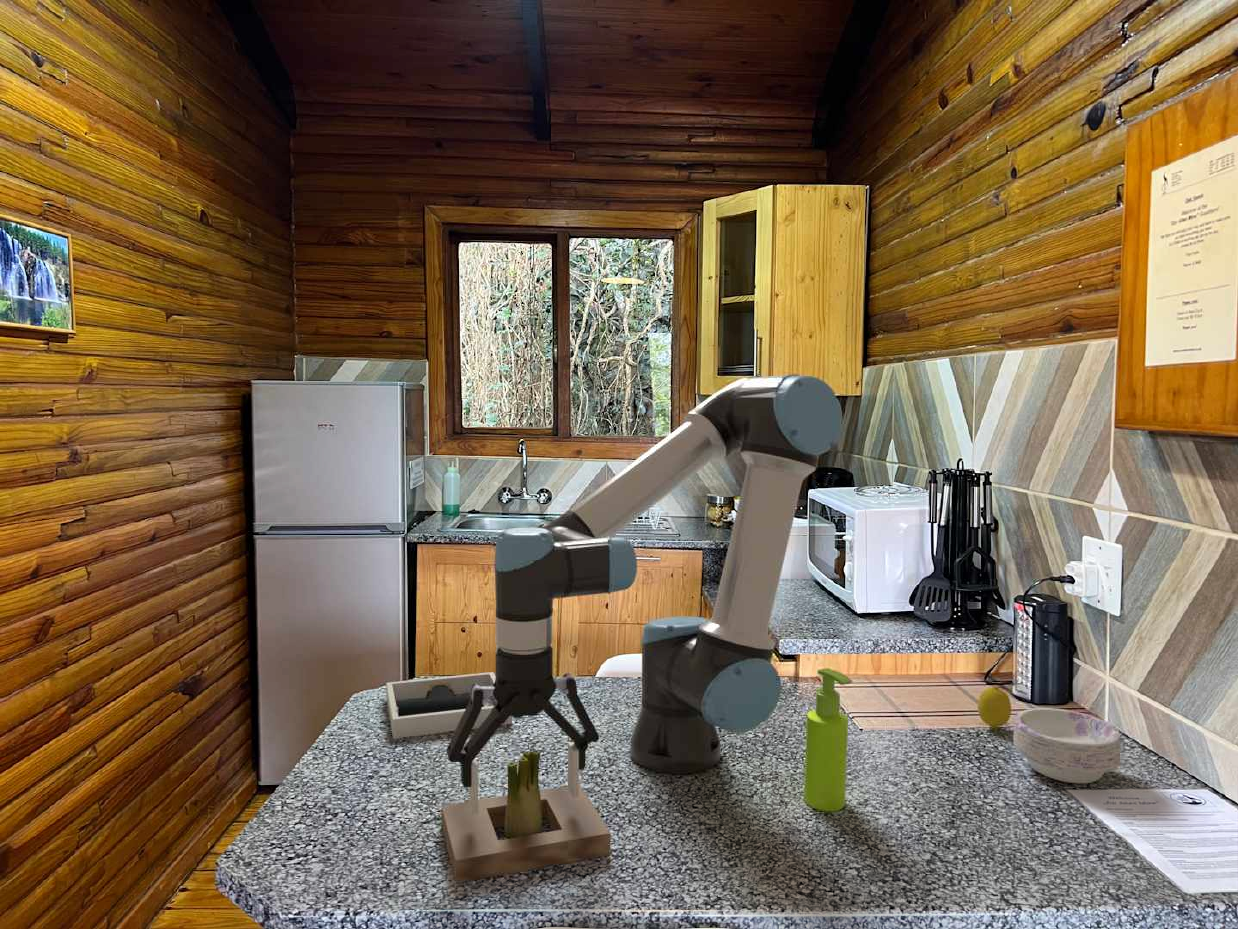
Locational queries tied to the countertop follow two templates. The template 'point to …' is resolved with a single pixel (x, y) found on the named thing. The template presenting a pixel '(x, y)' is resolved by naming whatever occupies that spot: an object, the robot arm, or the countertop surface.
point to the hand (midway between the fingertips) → (524, 800)
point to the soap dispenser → (826, 747)
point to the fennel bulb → (523, 797)
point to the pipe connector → (434, 701)
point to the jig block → (486, 856)
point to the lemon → (994, 707)
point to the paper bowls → (1067, 744)
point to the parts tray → (437, 720)
